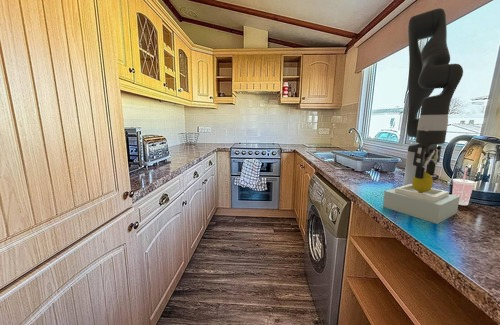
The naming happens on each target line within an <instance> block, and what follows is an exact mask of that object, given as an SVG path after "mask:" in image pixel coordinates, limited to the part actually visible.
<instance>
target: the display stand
mask: <svg viewBox="0 0 500 325" xmlns="http://www.w3.org/2000/svg"><path fill="white" fill-rule="evenodd" d="M459 198H460V196H455V195H452V194H450V192H449V191H448V190H442V189H438V188H434V187H432V188H431V189H430V190H429V191H427V192H424V193H419V192H418V191H416V190H415V189H414V188H413V185H412V184H408V185H404V186H403V185H401V186H397V187H395V188H391V189H387V190H385V191H384V194H383V201H382V202H383V203H382V207H383V208H385V209H389V210H392V211H395V212H398V213H400V214H401V213H402V214H405V215H408V216H411V217H414V218H418V219H421V220H424V221H427V222H430V223H433V224H436V225H437V224H440V223H441V222H443V221H446V220H448V219H449V218H451V217H453V216H454V215H456V214H458V213H457V212H458V208H459V204H458V203H459Z"/></svg>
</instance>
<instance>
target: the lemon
mask: <svg viewBox="0 0 500 325" xmlns="http://www.w3.org/2000/svg"><path fill="white" fill-rule="evenodd" d="M412 185H413V188H414V189H415V190H416V191H418V192H419V193H424V192H427V191H429V190H430V189H431V188H433V185H434V179H433V177H432V175H430V174H428V173H426V172H424V178H423V179H419V178H415V176H414V178H413V181H412Z"/></svg>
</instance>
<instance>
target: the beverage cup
mask: <svg viewBox="0 0 500 325" xmlns="http://www.w3.org/2000/svg"><path fill="white" fill-rule="evenodd" d="M467 171H468V167H465V169H464V174H463V177H462V178H463V179H462V178H452V193H451V195H455V196H460V198H459V203H458V206H459V205H460V206H468V205H469V203H470V198H471V196H472V192H473V188H474V186H475V185H476V181H473V180H469V179H466V176H467Z"/></svg>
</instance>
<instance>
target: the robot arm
mask: <svg viewBox="0 0 500 325" xmlns="http://www.w3.org/2000/svg"><path fill="white" fill-rule="evenodd" d="M407 33H408V34H407V35H408V36H407V38H408V40H407V41H408V53H409V54H408V56H409V62H408V84H407V85H408V88H407V89H408V109H407V110H408V111H407V120H406V121H407V122H406V134H407V136H408V137H409V138H415V143H414V144H410V145H408V147H407V152H406V161H405V168H404V176H403V184H402V186H404V185H408V184H412V181H413V178H414V176H415V178H419V179H423V178H424V172H426V173H428V174H430V175H431V176H434V175H435V174H436V172H435V171H436V166H437V165H438V163H440V161H441V160H440V159H441V154H442V153H441V152H442V145H443V144H445V143H446V137H447V132H448V125H449V111H450V106H451V102H452V98H453V97H454V93H455V92H456V89H457V87H458V86H459V84H460V82H461V80H462V78H463V76H464V69H463V67H462V65H461V64H459V63H450V62H451V55H450V51H449V47H448V44H447V39H448V38H447V37H448V36H447V34H448V32H447V15H446V11H445V9H443V8H440V7H439V8H434V9H432V10H429V11H425V12H422V13H419V14H416V15H414V16H413V15H412V16H411V17H410V18H409V21H408V26H407ZM429 38H430V39H429ZM425 39H429V40H427V42H426V43H425V45H424V46H423V48H422V50H421V48H420V45H419V44H420V43H419V41H421V40H425ZM436 89H442V91H441V92H440V93H439V94H437V95H432V93H433V92H434V91H435V90H436ZM419 111H420V114H419ZM418 114H419V117H418Z"/></svg>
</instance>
